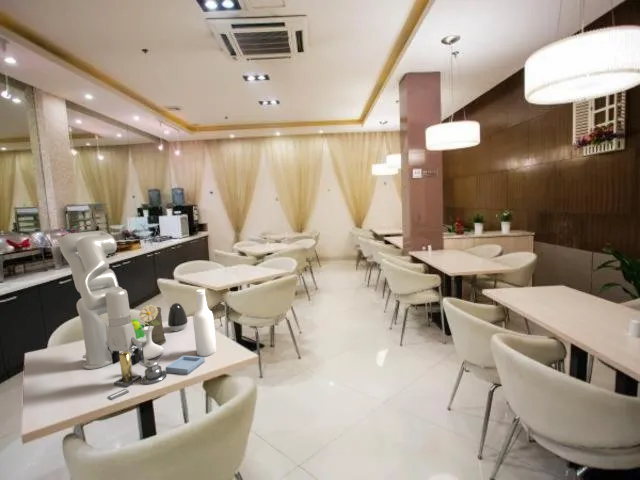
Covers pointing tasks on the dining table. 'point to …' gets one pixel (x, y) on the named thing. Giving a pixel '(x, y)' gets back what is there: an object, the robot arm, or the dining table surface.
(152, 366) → the crank
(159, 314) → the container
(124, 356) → the peg
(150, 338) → the flower in vase
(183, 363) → the tray
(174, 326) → the black egg shape
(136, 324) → the fruit basket
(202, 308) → the alcohol
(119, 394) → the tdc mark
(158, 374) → the crank housing
